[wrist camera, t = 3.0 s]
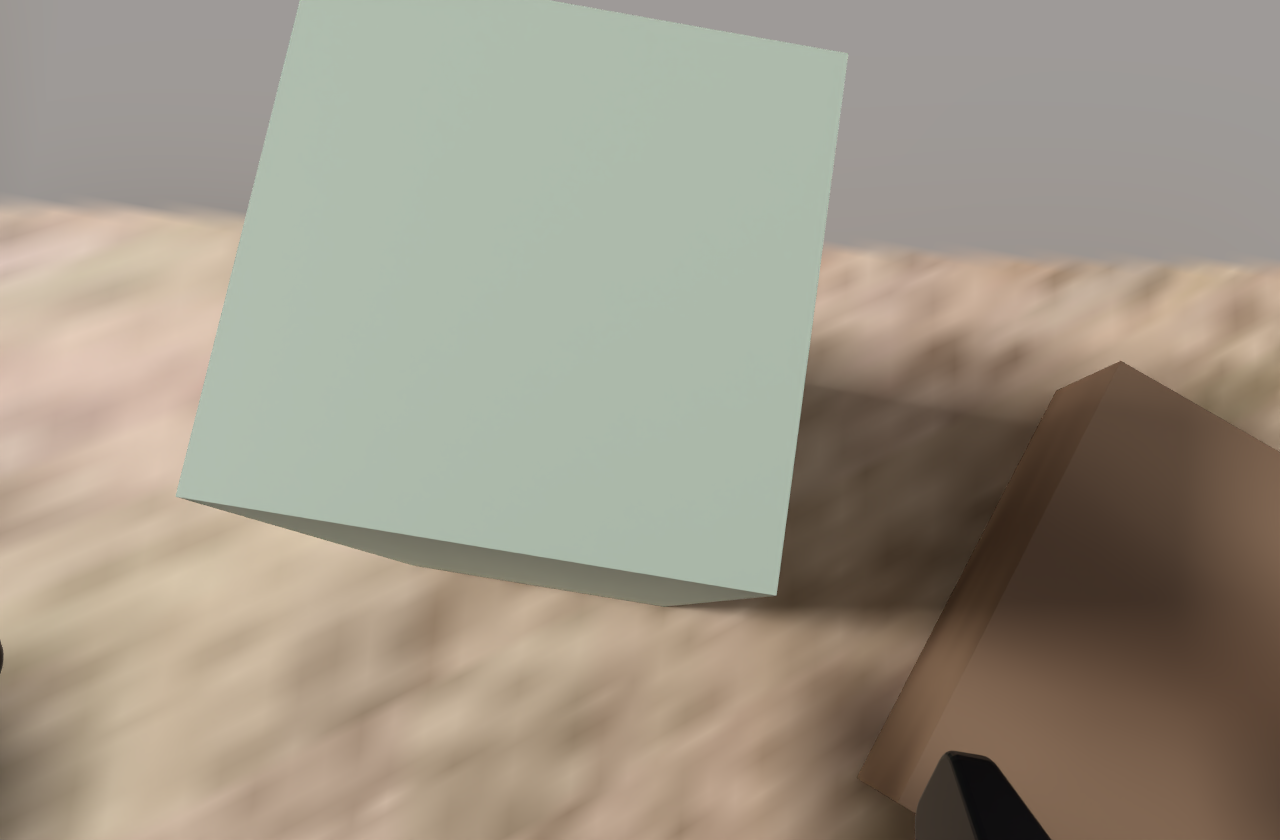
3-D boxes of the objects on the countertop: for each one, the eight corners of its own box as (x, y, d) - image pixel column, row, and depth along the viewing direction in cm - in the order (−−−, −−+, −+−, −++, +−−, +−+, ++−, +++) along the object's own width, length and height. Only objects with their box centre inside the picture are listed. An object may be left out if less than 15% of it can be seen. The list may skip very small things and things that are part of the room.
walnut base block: (1254, 1017, 20) (1371, 1088, 17) (851, 774, 20) (897, 802, 17) (1423, 611, 22) (1557, 611, 19) (1048, 394, 22) (1121, 360, 19)
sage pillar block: (664, 606, 20) (776, 595, 8) (414, 565, 20) (175, 497, 8) (701, 365, 21) (847, 53, 9) (462, 324, 21) (310, -42, 9)
